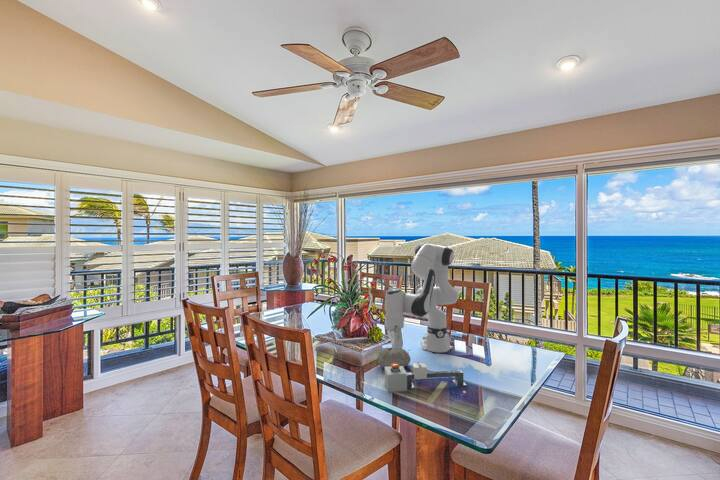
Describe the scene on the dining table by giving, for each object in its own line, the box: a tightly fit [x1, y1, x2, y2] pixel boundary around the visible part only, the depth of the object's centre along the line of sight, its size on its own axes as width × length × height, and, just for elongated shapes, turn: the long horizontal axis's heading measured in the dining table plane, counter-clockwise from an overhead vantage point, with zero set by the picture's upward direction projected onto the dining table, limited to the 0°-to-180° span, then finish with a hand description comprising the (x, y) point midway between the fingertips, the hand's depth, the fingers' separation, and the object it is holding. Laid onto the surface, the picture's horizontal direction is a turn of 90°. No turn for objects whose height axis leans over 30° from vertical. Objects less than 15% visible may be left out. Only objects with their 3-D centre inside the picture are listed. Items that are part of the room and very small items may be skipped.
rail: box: [406, 369, 468, 390], centre depth 155 cm, size 6×30×6 cm, turn 94°
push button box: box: [384, 366, 408, 393], centre depth 153 cm, size 9×9×8 cm
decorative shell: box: [377, 346, 411, 369], centre depth 177 cm, size 18×18×10 cm
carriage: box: [411, 361, 428, 380], centre depth 154 cm, size 5×6×6 cm
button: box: [391, 363, 400, 372], centre depth 153 cm, size 4×4×7 cm
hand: (394, 351), depth 154 cm, fingers closed
